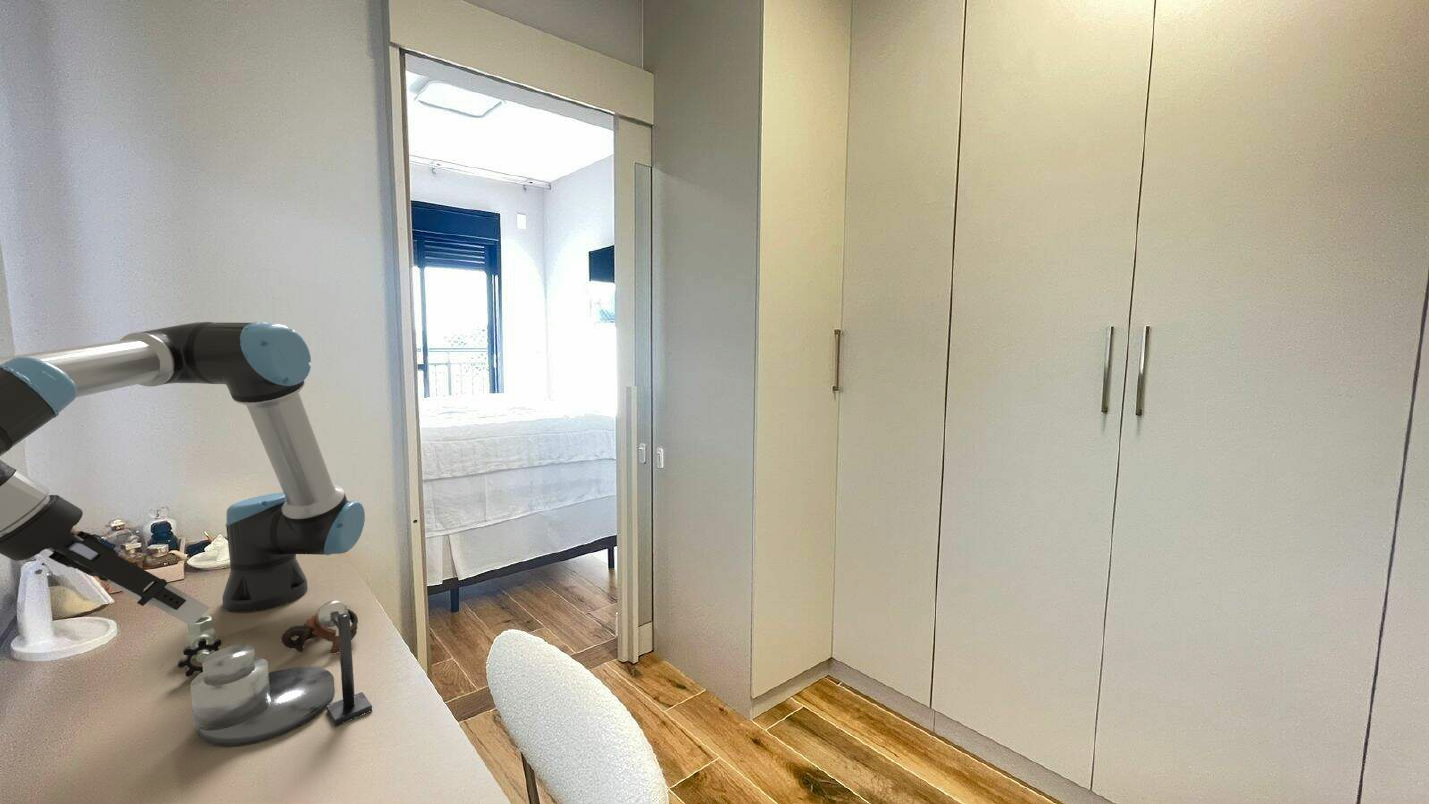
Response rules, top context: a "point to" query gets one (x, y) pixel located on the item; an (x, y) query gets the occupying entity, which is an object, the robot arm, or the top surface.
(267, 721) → the grey metal flat disc
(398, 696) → the top surface
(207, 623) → the valve
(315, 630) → the brown irregular ringed piece
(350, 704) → the dial stand
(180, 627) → the top surface
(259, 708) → the cover
